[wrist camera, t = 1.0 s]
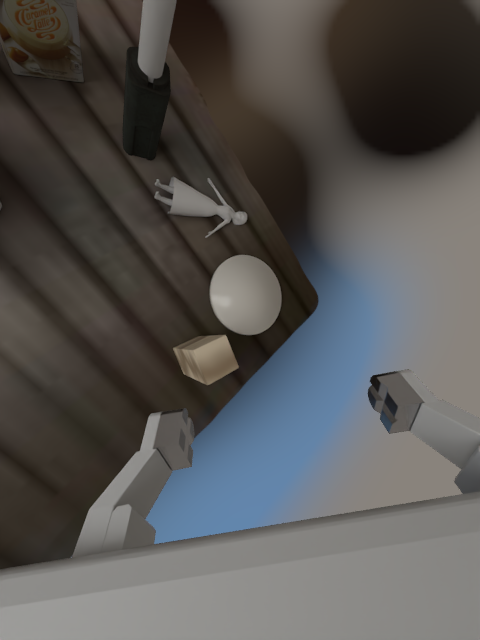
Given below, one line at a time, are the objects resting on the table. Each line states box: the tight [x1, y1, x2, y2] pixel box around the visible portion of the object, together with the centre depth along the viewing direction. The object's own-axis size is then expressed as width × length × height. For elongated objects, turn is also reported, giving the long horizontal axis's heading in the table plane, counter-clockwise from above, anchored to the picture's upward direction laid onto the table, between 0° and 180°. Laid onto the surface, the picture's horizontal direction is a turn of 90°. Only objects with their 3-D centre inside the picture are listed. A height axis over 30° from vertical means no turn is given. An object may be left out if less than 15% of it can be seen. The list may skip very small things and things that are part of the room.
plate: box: [209, 255, 282, 335], centre depth 49 cm, size 16×16×1 cm
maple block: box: [173, 335, 239, 385], centre depth 38 cm, size 5×5×12 cm
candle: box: [123, 0, 176, 160], centre depth 31 cm, size 5×5×25 cm
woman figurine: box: [154, 177, 247, 237], centre depth 45 cm, size 12×4×18 cm
